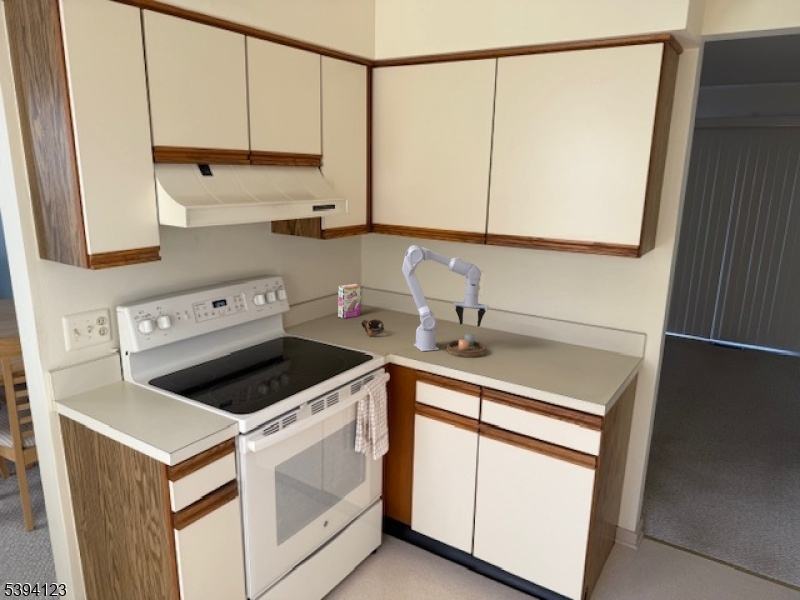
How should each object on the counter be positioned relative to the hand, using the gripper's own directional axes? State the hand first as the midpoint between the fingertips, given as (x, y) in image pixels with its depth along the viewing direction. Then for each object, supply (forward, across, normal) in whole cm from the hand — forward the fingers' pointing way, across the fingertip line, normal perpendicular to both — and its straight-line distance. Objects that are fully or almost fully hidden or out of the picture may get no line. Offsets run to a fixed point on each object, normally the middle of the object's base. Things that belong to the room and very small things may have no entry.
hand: (469, 325), depth 231 cm
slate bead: (+9, 0, 0) cm, 9 cm away
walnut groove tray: (+10, 0, +4) cm, 11 cm away
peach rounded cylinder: (+9, 0, +9) cm, 13 cm away
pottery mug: (+11, +46, -2) cm, 47 cm away
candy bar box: (+11, +70, -25) cm, 75 cm away
